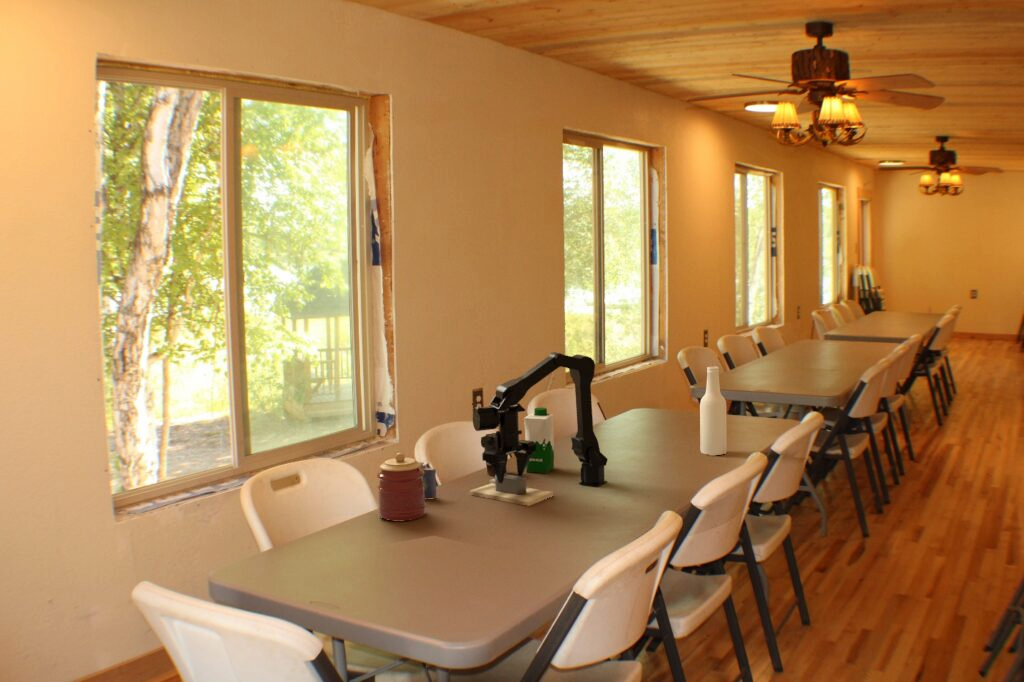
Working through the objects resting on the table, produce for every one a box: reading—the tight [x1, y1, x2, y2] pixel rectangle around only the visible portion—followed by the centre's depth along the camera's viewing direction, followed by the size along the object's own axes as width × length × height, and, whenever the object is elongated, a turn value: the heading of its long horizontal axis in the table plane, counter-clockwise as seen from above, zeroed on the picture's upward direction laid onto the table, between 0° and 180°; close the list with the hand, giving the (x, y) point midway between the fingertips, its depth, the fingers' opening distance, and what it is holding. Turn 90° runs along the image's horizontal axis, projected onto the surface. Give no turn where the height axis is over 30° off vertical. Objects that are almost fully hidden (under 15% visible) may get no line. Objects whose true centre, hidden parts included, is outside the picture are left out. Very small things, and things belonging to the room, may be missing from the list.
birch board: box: [469, 483, 554, 507], centre depth 276 cm, size 22×12×1 cm, turn 52°
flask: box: [420, 461, 437, 498], centre depth 276 cm, size 9×3×11 cm, turn 68°
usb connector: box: [489, 473, 527, 495], centre depth 276 cm, size 13×4×4 cm, turn 52°
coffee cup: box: [484, 432, 509, 476], centre depth 302 cm, size 9×8×13 cm
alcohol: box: [699, 365, 728, 455], centre depth 320 cm, size 9×9×30 cm
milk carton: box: [523, 407, 555, 474], centre depth 304 cm, size 9×9×20 cm
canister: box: [376, 452, 427, 521], centre depth 258 cm, size 13×13×18 cm
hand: (510, 479), depth 275 cm, fingers open, 9 cm apart
